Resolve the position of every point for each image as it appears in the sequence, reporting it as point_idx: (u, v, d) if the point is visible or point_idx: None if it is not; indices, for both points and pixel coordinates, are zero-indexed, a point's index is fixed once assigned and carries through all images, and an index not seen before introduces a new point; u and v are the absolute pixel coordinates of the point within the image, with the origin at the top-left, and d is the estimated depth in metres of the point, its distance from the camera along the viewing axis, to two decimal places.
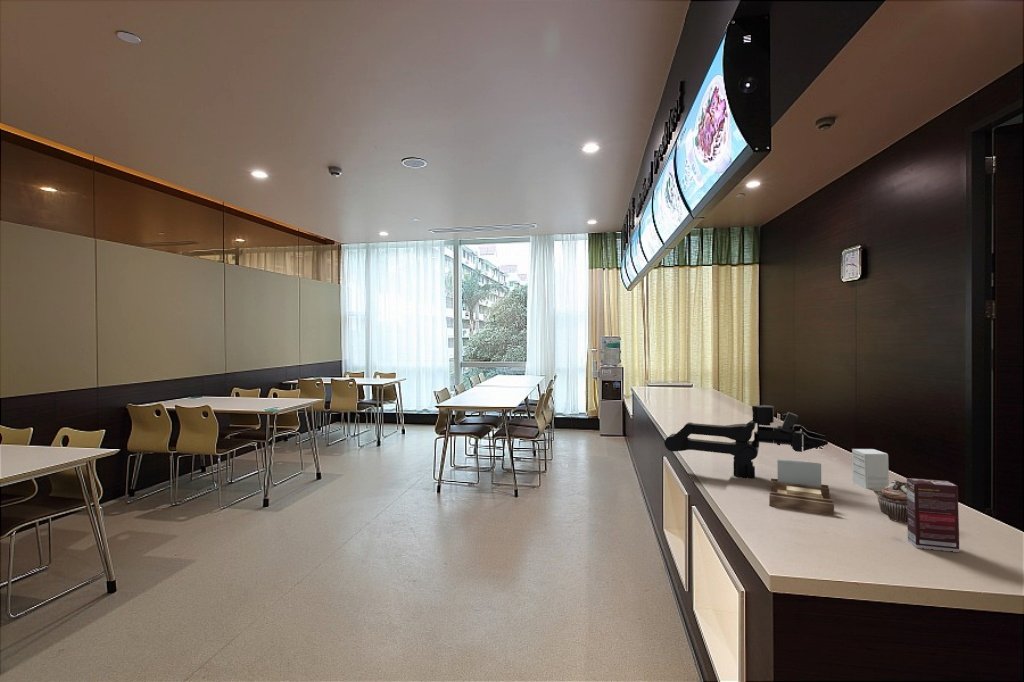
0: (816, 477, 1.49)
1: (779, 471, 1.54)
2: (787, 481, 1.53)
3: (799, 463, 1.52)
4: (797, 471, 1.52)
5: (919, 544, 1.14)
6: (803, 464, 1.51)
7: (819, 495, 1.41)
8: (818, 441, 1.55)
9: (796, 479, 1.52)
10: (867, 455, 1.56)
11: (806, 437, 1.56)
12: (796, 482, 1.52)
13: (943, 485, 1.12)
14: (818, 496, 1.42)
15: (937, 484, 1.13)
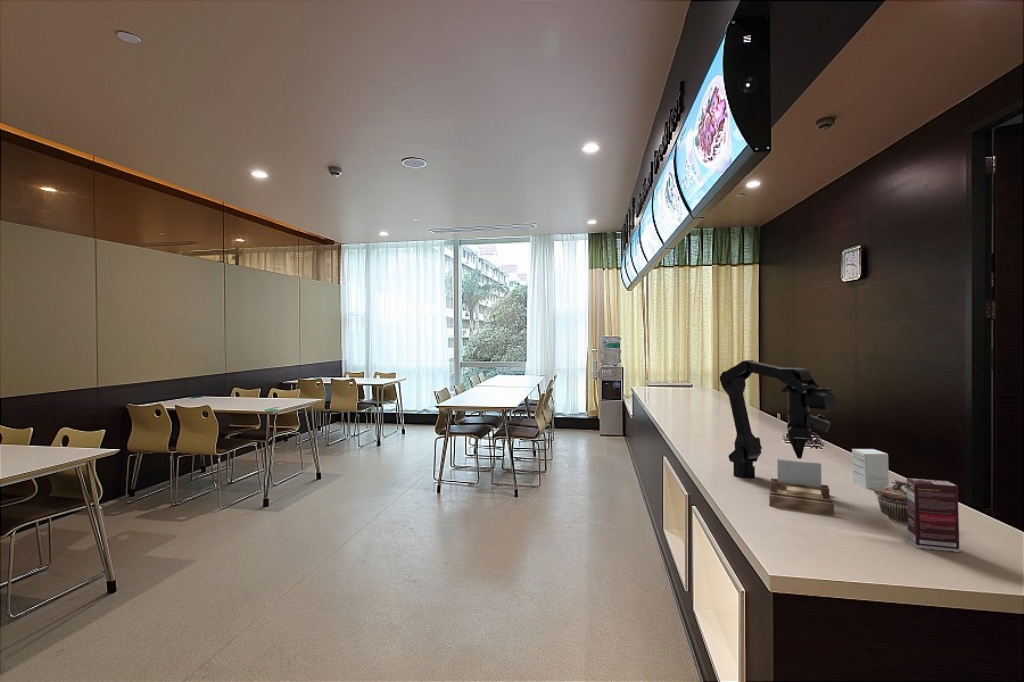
0: (816, 477, 1.49)
1: (779, 471, 1.54)
2: (787, 481, 1.53)
3: (799, 463, 1.52)
4: (797, 471, 1.52)
5: (919, 544, 1.14)
6: (803, 464, 1.51)
7: (819, 495, 1.41)
8: (800, 450, 1.47)
9: (796, 479, 1.52)
10: (867, 455, 1.56)
11: (804, 440, 1.46)
12: (796, 482, 1.52)
13: (943, 485, 1.12)
14: (818, 496, 1.42)
15: (937, 484, 1.13)
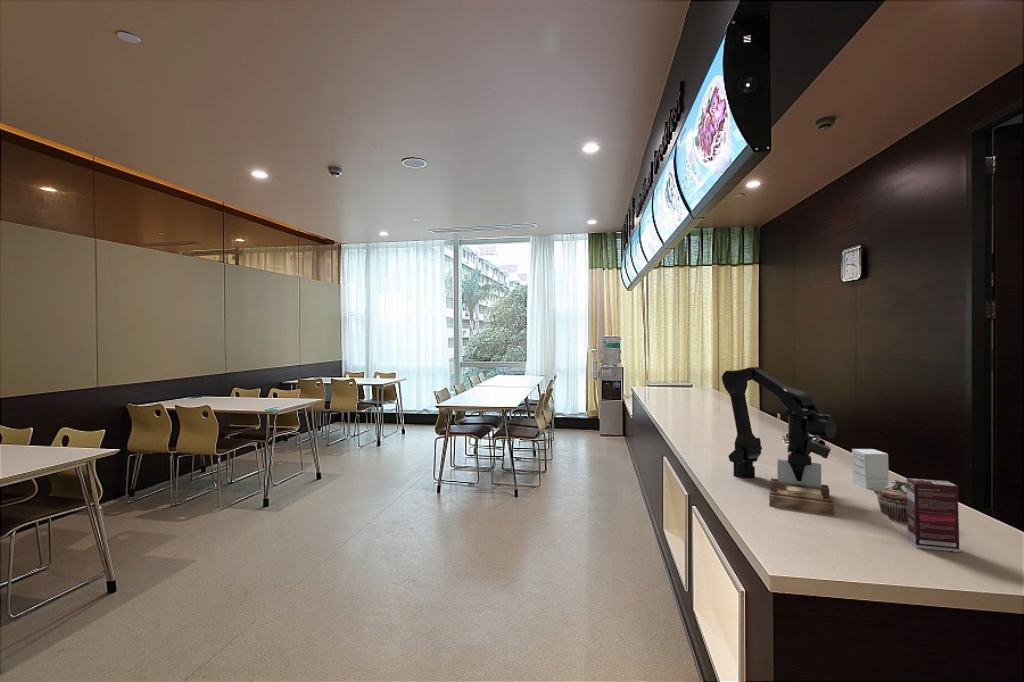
0: (816, 477, 1.49)
1: (779, 471, 1.54)
2: (787, 481, 1.53)
3: None
4: None
5: (919, 544, 1.14)
6: None
7: (819, 495, 1.41)
8: (800, 473, 1.51)
9: (796, 479, 1.52)
10: (867, 455, 1.56)
11: None
12: (796, 482, 1.52)
13: (943, 485, 1.12)
14: (818, 496, 1.42)
15: (937, 484, 1.13)
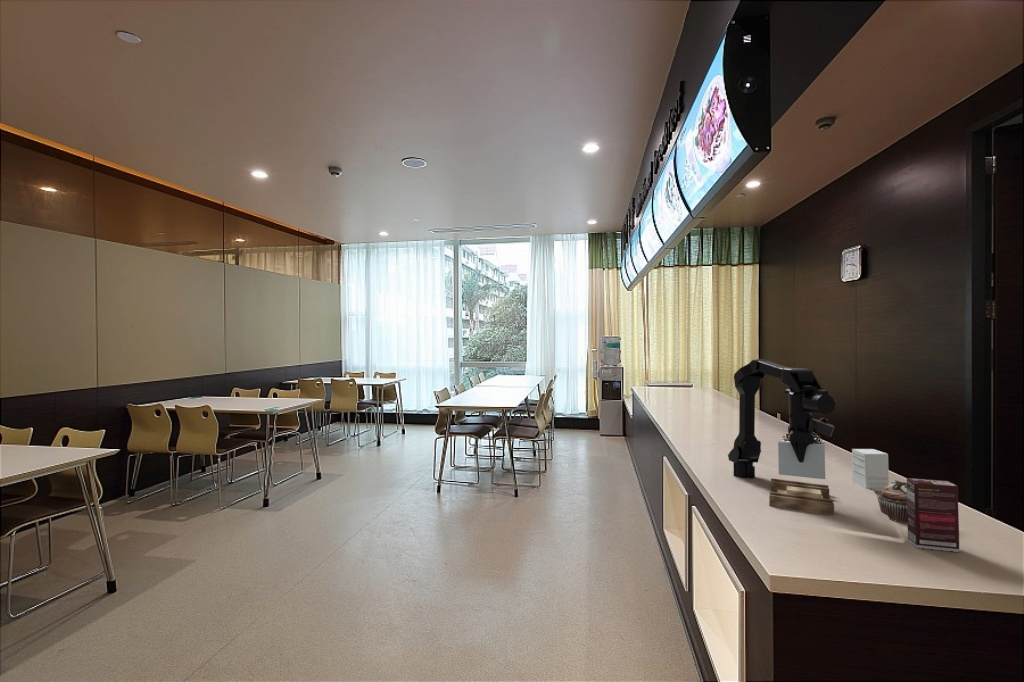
0: (819, 459, 1.40)
1: (780, 454, 1.45)
2: (789, 464, 1.44)
3: None
4: None
5: (919, 544, 1.14)
6: None
7: (819, 495, 1.41)
8: (802, 454, 1.42)
9: (798, 461, 1.43)
10: (867, 455, 1.56)
11: (806, 443, 1.40)
12: (798, 465, 1.43)
13: (943, 485, 1.12)
14: (818, 496, 1.42)
15: (937, 484, 1.13)
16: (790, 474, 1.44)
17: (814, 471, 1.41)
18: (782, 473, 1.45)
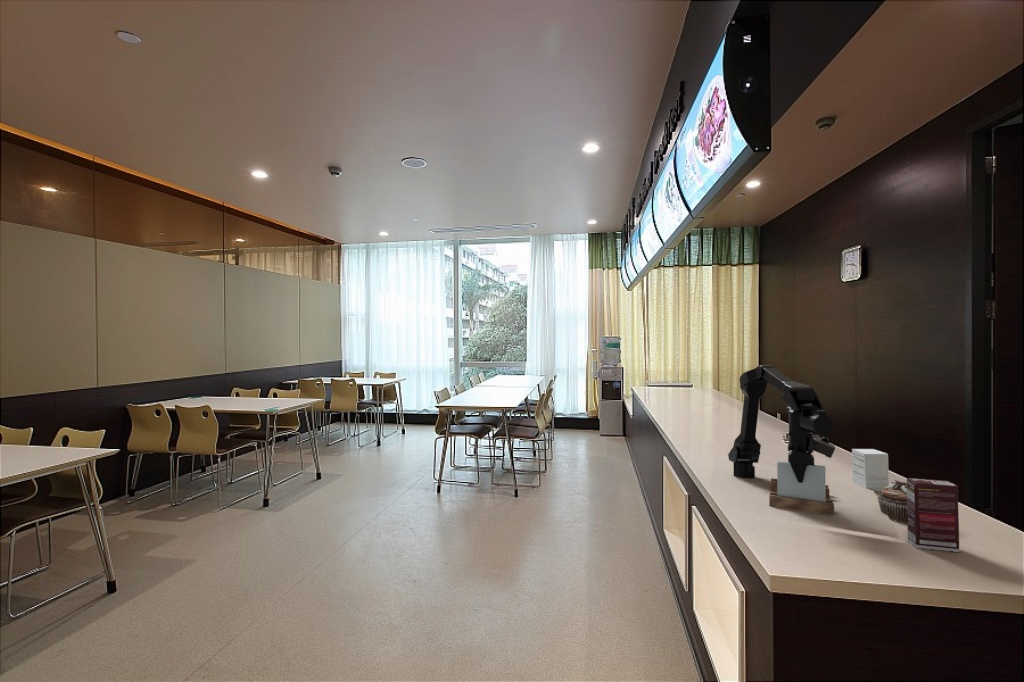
0: (820, 481, 1.36)
1: (779, 474, 1.41)
2: (788, 485, 1.40)
3: None
4: None
5: (919, 544, 1.14)
6: None
7: None
8: (801, 474, 1.37)
9: (798, 483, 1.39)
10: (867, 455, 1.56)
11: None
12: (797, 486, 1.39)
13: (943, 485, 1.12)
14: None
15: (937, 484, 1.13)
16: (789, 495, 1.40)
17: (814, 493, 1.37)
18: (781, 494, 1.41)
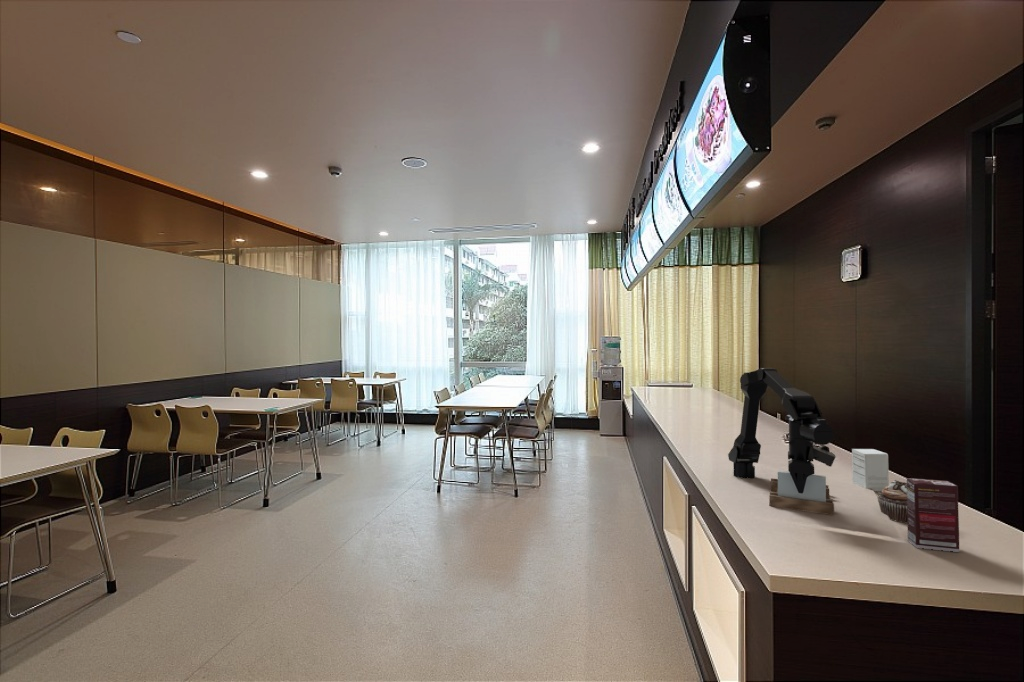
0: (820, 491, 1.36)
1: (779, 484, 1.41)
2: (788, 495, 1.40)
3: None
4: None
5: (919, 544, 1.14)
6: None
7: None
8: (802, 485, 1.35)
9: (798, 493, 1.38)
10: (867, 455, 1.56)
11: (806, 474, 1.34)
12: (798, 496, 1.39)
13: (943, 485, 1.12)
14: None
15: (937, 484, 1.13)
16: None
17: None
18: None
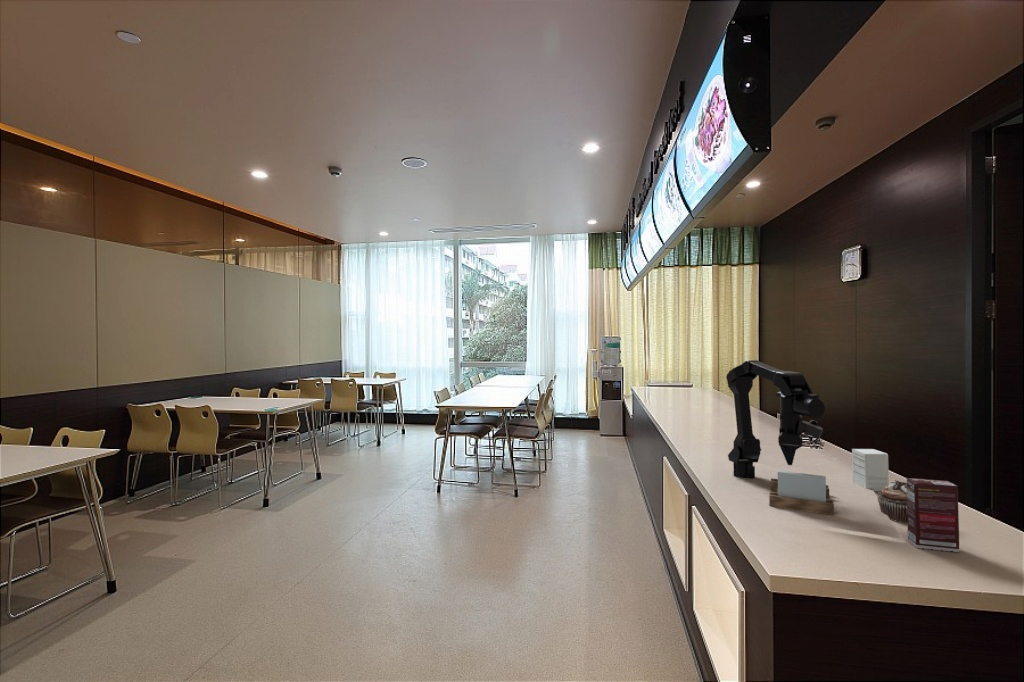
0: (820, 491, 1.36)
1: (779, 484, 1.41)
2: (788, 495, 1.40)
3: (801, 475, 1.38)
4: (800, 484, 1.38)
5: (919, 544, 1.14)
6: (806, 477, 1.37)
7: None
8: (791, 457, 1.44)
9: (798, 493, 1.38)
10: (867, 455, 1.56)
11: (795, 447, 1.42)
12: (798, 496, 1.39)
13: (943, 485, 1.12)
14: None
15: (937, 484, 1.13)
16: None
17: None
18: None
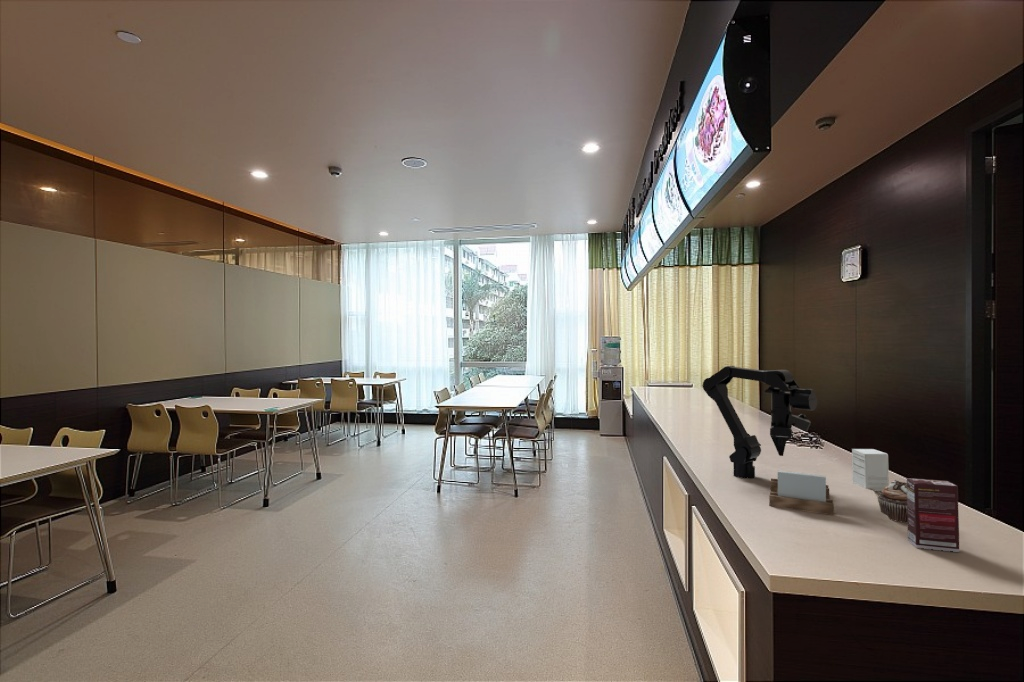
0: (820, 491, 1.36)
1: (779, 484, 1.41)
2: (788, 495, 1.40)
3: (801, 475, 1.38)
4: (800, 484, 1.38)
5: (919, 544, 1.14)
6: (806, 477, 1.37)
7: None
8: (782, 448, 1.55)
9: (798, 493, 1.38)
10: (867, 455, 1.56)
11: (786, 439, 1.54)
12: (798, 496, 1.39)
13: (943, 485, 1.12)
14: None
15: (937, 484, 1.13)
16: None
17: None
18: None
